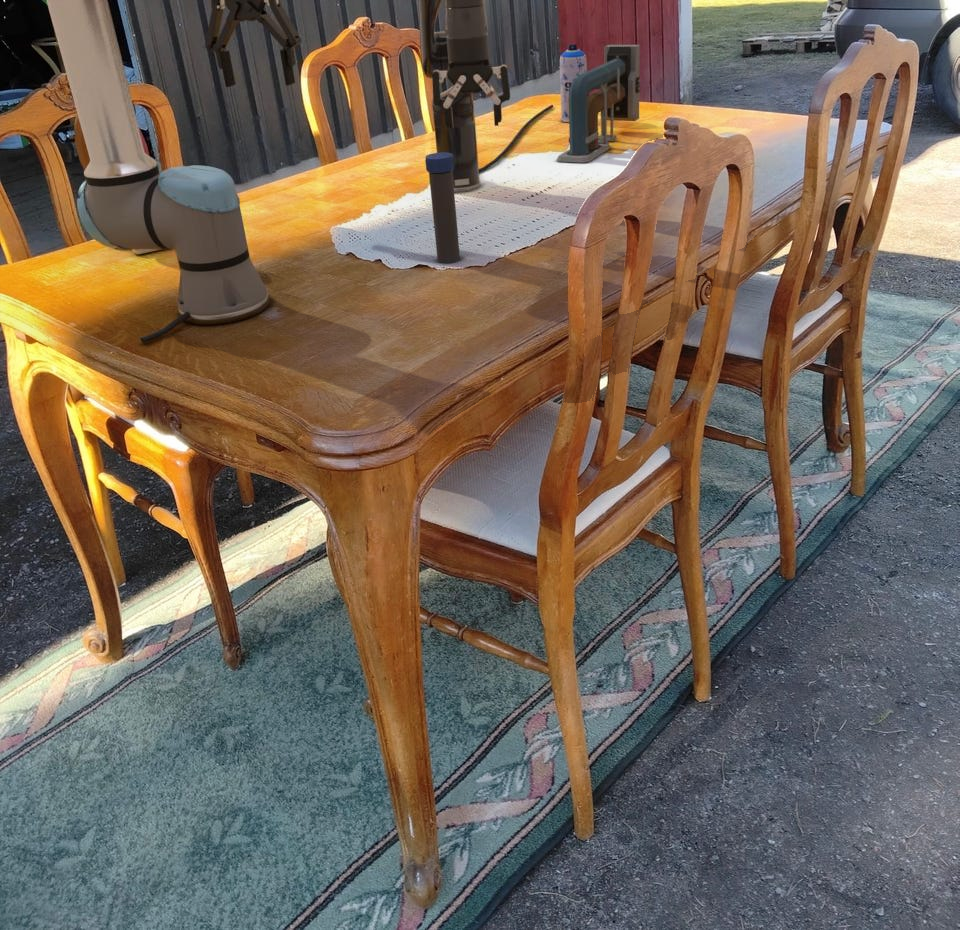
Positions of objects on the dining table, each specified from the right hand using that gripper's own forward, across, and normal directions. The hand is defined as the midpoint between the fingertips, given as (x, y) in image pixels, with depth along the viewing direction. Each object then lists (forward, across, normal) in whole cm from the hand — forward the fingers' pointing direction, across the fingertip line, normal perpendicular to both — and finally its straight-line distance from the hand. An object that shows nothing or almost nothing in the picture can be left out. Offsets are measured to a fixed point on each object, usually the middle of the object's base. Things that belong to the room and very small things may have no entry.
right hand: (473, 126), depth 182 cm
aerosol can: (+21, -24, -101) cm, 106 cm away
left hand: (-7, +44, -17) cm, 47 cm away
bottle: (+20, +6, +15) cm, 26 cm away
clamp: (+21, -28, -67) cm, 76 cm away
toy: (+20, +71, -6) cm, 74 cm away
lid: (+2, +6, +15) cm, 16 cm away
